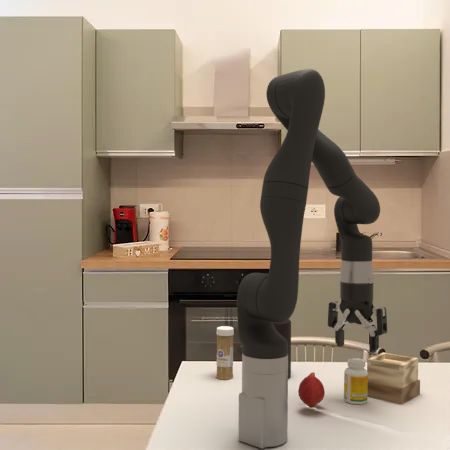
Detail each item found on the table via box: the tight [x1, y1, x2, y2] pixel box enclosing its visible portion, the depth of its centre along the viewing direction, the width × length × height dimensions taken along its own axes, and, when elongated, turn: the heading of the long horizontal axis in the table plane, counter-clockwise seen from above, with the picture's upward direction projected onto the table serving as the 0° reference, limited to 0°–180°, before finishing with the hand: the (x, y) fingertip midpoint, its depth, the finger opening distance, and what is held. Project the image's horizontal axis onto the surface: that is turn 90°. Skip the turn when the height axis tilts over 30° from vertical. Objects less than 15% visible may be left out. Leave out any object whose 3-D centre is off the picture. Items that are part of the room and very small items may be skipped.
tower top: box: [366, 352, 419, 388], centre depth 141 cm, size 9×9×5 cm
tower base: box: [367, 379, 421, 406], centre depth 141 cm, size 10×10×4 cm
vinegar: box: [272, 318, 292, 380], centre depth 155 cm, size 7×7×20 cm
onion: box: [298, 371, 326, 409], centre depth 132 cm, size 6×6×8 cm
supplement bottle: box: [343, 357, 368, 405], centre depth 136 cm, size 5×5×10 cm
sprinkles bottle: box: [215, 325, 235, 381], centre depth 155 cm, size 5×5×13 cm
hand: (356, 349), depth 136 cm, fingers open, 8 cm apart
